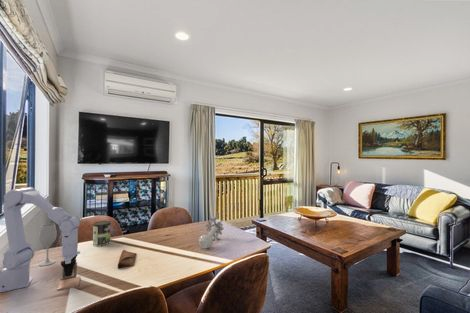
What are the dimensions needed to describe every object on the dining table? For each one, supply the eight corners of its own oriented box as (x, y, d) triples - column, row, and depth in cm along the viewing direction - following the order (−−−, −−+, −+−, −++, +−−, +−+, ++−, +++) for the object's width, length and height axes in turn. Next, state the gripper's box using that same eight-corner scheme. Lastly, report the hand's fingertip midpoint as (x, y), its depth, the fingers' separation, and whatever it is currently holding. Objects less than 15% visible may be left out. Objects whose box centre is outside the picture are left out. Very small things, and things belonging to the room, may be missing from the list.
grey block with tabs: (59, 281, 105) (60, 269, 105) (63, 270, 116) (63, 259, 116) (67, 279, 107) (67, 267, 107) (70, 268, 117) (70, 258, 117)
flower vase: (210, 260, 144) (224, 237, 167) (213, 236, 139) (226, 216, 162) (192, 253, 147) (208, 232, 170) (194, 230, 142) (210, 211, 165)
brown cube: (62, 280, 100) (62, 269, 100) (63, 275, 104) (63, 264, 104) (76, 277, 102) (76, 266, 102) (76, 272, 107) (77, 262, 107)
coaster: (56, 290, 98) (56, 289, 98) (59, 282, 104) (59, 280, 104) (78, 285, 102) (79, 284, 102) (80, 277, 109) (80, 276, 109)
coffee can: (113, 240, 157) (113, 220, 157) (104, 246, 147) (104, 225, 147) (98, 240, 157) (99, 220, 157) (89, 246, 147) (89, 224, 147)
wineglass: (41, 261, 125) (42, 223, 125) (58, 258, 128) (58, 222, 128) (35, 267, 118) (36, 227, 118) (53, 264, 121) (54, 226, 121)
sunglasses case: (135, 266, 120) (128, 256, 119) (122, 275, 118) (115, 265, 117) (136, 253, 137) (130, 244, 136) (125, 260, 135) (119, 251, 134)
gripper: (79, 247, 99) (78, 277, 99) (81, 237, 112) (80, 264, 111) (59, 250, 96) (58, 282, 95) (63, 239, 108) (63, 268, 108)
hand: (69, 273), depth 103 cm, fingers closed on brown cube, 5 cm apart
